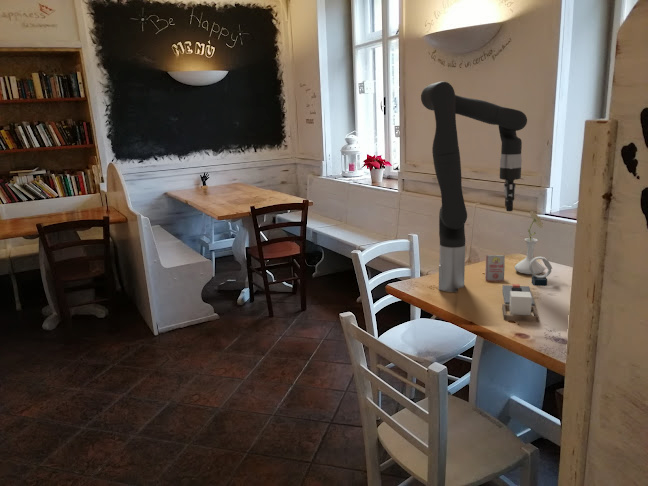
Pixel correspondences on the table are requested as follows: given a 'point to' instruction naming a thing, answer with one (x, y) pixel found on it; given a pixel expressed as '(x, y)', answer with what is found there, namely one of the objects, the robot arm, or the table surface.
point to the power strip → (514, 287)
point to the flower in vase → (530, 252)
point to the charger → (520, 303)
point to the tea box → (495, 267)
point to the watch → (540, 279)
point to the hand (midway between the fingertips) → (508, 208)
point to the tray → (520, 317)
